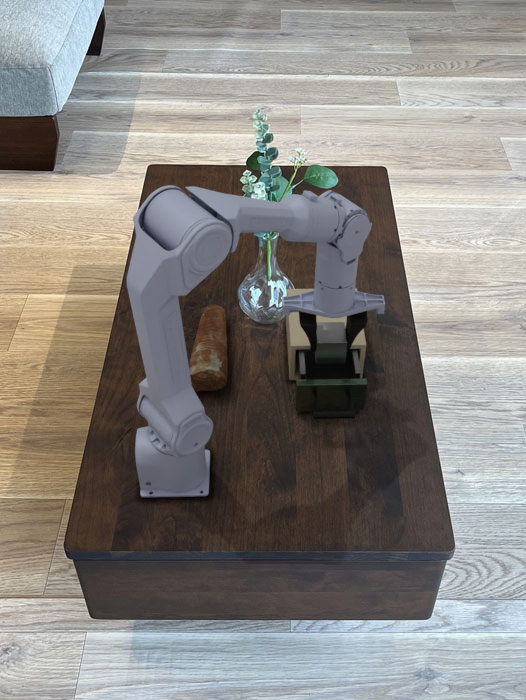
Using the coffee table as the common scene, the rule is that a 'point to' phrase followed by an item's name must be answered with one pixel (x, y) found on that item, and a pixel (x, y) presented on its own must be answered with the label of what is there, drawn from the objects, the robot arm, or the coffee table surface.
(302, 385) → the drawer
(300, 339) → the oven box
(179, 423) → the robot arm
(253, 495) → the coffee table surface
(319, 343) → the block
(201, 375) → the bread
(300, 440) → the coffee table surface
